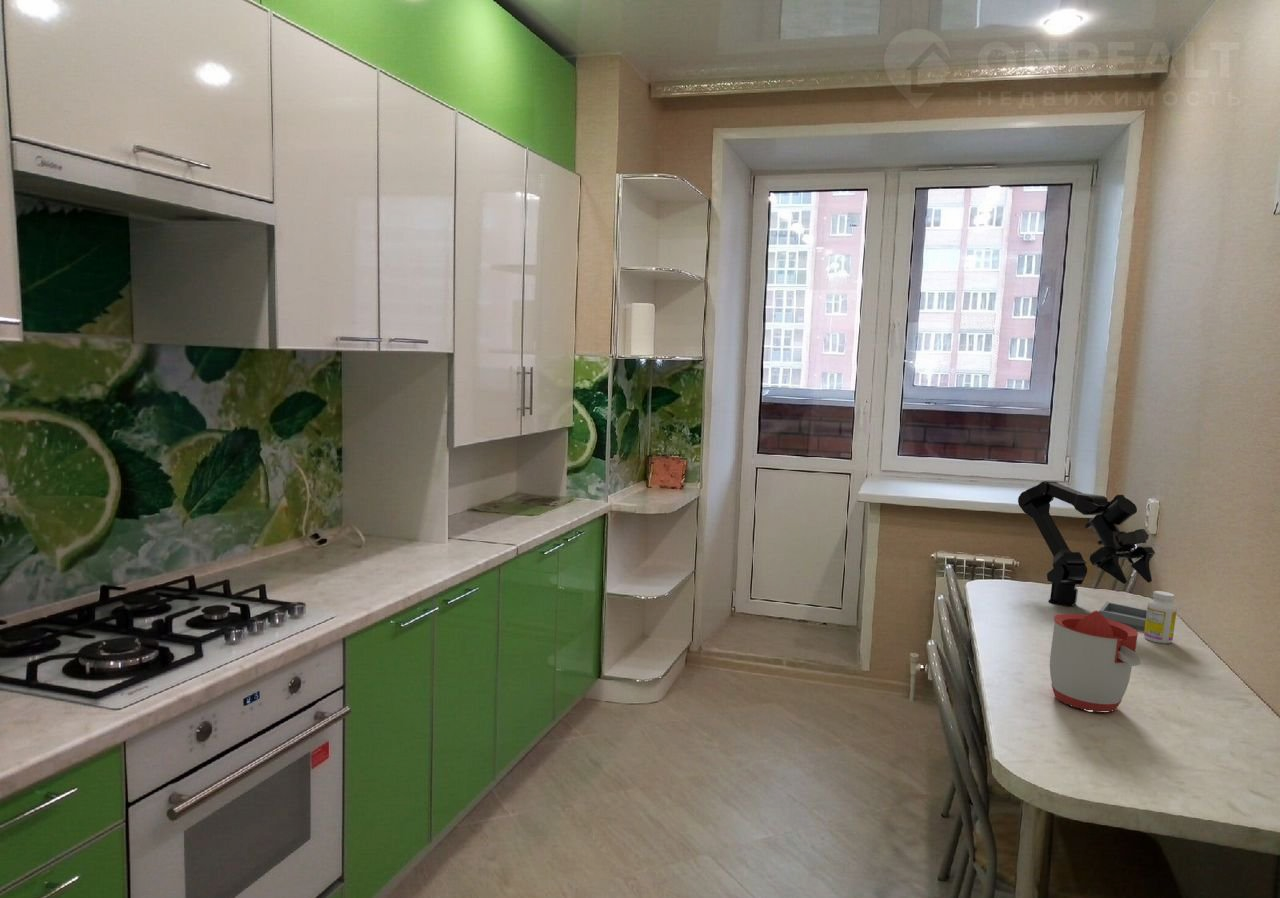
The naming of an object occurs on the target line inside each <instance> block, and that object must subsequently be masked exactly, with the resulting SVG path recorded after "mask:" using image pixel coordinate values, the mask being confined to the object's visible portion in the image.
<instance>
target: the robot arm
mask: <svg viewBox="0 0 1280 898" xmlns="http://www.w3.org/2000/svg"><path fill="white" fill-rule="evenodd" d="M1054 498H1055V499H1058V500H1059V501H1060V500H1061V501H1062V502H1065V503H1067V504H1069V505H1071V506H1073V507H1074V510H1076V511H1077V512H1079V514H1082V515H1084V516H1093V517H1092V518H1087V521H1086V523H1085V526H1084V527H1085V529H1093V530H1094V532H1095V534H1096V536H1097V537H1098V539H1099V541H1097V544H1098V546H1101V547H1099V548H1098V549H1097V550H1095V551H1094V552H1092V553H1091V554H1090V555H1089V561H1090V563H1091V565H1092V566H1096V567H1097V568H1098V569H1101V570H1102V571H1103V572H1106V573H1107V574H1109V575H1110V576H1111V577H1113V578H1115V579H1116V580H1117V581H1119V582H1120V583H1121V584H1123V585H1125V584H1127V583H1128V581H1127V577H1126V576H1125V575H1126V574H1124V572H1123V569H1122V568H1121V566H1120V563H1119V560H1120V559H1121V560H1122V559H1123V560H1124V559H1127V561H1128V562H1129V563H1130V564H1131V565H1130V566H1131V567H1132V569H1133V570H1135V572H1136V573H1137V574H1138V575H1139V576H1141V577H1142V579H1143V580H1145V581H1146V583H1148V584H1150V583H1151V582H1152V581H1153V578H1152V574H1151V569H1150V567H1151V566H1150V562H1151V559H1152V558H1153V557H1154V556H1155V554H1156V552H1155V550H1154V549H1153V547H1152V546H1148V545H1145V546H1144V545H1142V546H1141V545H1139V544H1146V543H1147V541H1148V540H1149V535H1150V534H1148V532H1147V531H1146V529H1145V528H1139V529H1135V530H1133V531H1128V532H1126V531H1121V530H1120V528H1119V527H1118V526H1121V525H1123V524H1124V523H1126V522H1127V521H1128V520H1129V519H1130V518H1132V517H1133V516H1134V515H1135V514H1137V512H1138V507H1137V506H1136V504H1135V503H1133V501H1132V500H1130V499H1128V498H1126V497H1125V495H1124V494H1116V495H1115V496H1114V497H1113V498H1112V499H1111V500H1108V497H1106V496H1105V495H1099V494H1093V493H1084V492H1081V491H1079V490H1076V489H1073V488H1072V487H1071V488H1070V487H1069V486H1065V485H1064V484H1061V483H1059V482H1057V481H1051V480H1044V481H1041V482H1039V483H1038V484H1037V485H1034V486H1032V487H1030V488H1028V489H1026V490H1025V491H1022V492H1021V493H1019V496H1018V498H1017V503H1018V505H1019V507H1020V509H1021V510H1022V511H1023V513H1024V514H1025V515H1027V516H1028V517H1030V518H1031V519H1032V520H1033V521H1034V522H1035V524H1036V527H1037V528H1038V530H1039V532H1040V534H1041V536H1042V537H1043V539H1044V542H1045V543H1046V545H1047V547H1048V548H1049V550H1050V553H1051V555H1052V556H1053V559H1052V569H1051V570H1050V571H1048V572H1047V573H1046V578H1047V581H1048V582H1050V583H1051V589H1050V596H1049V597H1050V598H1049V599H1048V603H1052V604H1053V603H1054V604H1057V605H1062V606H1066V607H1073V606H1074V605H1075V604H1077V601H1078V600H1077V599H1078V596H1079V595H1078V593H1079V589H1078V588H1077V586H1078V585H1080V586H1081V585H1082V584H1084V583H1083V582H1084V580H1085V578H1086V576H1087V574H1088V567H1087V565H1086V564H1087V562H1086V561H1085V560H1084V558H1083V556H1082V553H1080V552H1079V551H1071V549H1070V548H1069V546H1068V544H1067V542H1066V540H1065V539H1064V537H1063V535H1062V533H1061V532H1060V530H1059V528H1058V526H1057V525H1056V523H1055V521H1054V519H1053V517H1052V516H1051V513H1050V509H1051V504H1050V503H1052V502H1053V501H1054ZM1136 545H1138V546H1137V547H1136ZM1132 549H1133V550H1132Z"/></svg>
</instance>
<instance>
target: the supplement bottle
mask: <svg viewBox="0 0 1280 898" xmlns="http://www.w3.org/2000/svg"><path fill="white" fill-rule="evenodd" d="M1152 594H1153V595H1152V596H1153V599H1151V600H1149V602H1148V603H1147V607H1146V610H1147V615H1146V622H1145V630H1144V631H1143V637H1144V638H1145V639H1146V640H1148V641H1150V642H1153V643H1157V644H1165V645H1166V644H1172V643H1173V641H1174V640H1173V639H1174V633H1175V627H1176V618H1177V612H1178V608H1177V605H1176V604H1174V603H1173V602H1174V600H1175V594H1173V593H1171V592H1169V591H1161V590H1153V593H1152Z"/></svg>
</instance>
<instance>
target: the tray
mask: <svg viewBox="0 0 1280 898" xmlns="http://www.w3.org/2000/svg"><path fill="white" fill-rule="evenodd" d="M1098 611H1099V612H1100V613H1101V614H1102V615H1103V616H1104V618H1106V619H1110V620H1113V621H1117V622H1120V623H1122V624H1125V625H1127V626H1130V627H1131V628H1133V629H1135V630H1139V631H1143V632H1144V630H1145V622H1146V615H1147V609H1143V608H1139V607H1134V606H1131V605H1130V606H1129V605H1125V604H1120V603H1114V602H1109V601H1106V602H1105V603H1104V604H1103V606H1102V607H1100V609H1099V610H1098Z"/></svg>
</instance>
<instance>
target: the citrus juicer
mask: <svg viewBox="0 0 1280 898" xmlns="http://www.w3.org/2000/svg"><path fill="white" fill-rule="evenodd" d="M1053 621H1054V623H1053V631H1052V640H1051V648H1050V655H1049V672H1050V680H1051V688H1052V692H1053V696H1054V697H1055V698H1056V699H1057V700H1058V699H1059V700H1058V701H1059V702H1061V701H1062V702H1061V703H1063V702H1064V703H1063V704H1065V703H1066V704H1065V705H1067V704H1069V705H1072V706H1074V707H1073V708H1075V707H1078V708H1082V709H1086V710H1093V711H1112V710H1114V711H1116V710H1117V708H1118V707H1119V706H1120V704H1121V703H1122V700H1123V698H1124V695H1125V693H1126V691H1127V689H1128V686H1129V683H1130V680H1131V673H1132V667H1137V666H1139V665H1140V664H1141V657H1140V656H1139V655H1138V653H1136V646H1137V640H1138V636H1139V633H1138V631H1137V629H1133V628H1131V627H1130V626H1127V625H1125V624H1122V623H1120V622H1117V621H1113V620H1110V619H1106V618H1104V616H1103V615H1102V614H1101V613H1100V612H1099V610H1094V611H1093V610H1092V612H1090V613H1088V614H1083V613H1060V614H1056V615H1054V617H1053ZM1069 705H1068V706H1069ZM1072 706H1071V707H1072ZM1078 708H1077V709H1078ZM1082 709H1081V710H1082ZM1115 709H1116V710H1115ZM1112 712H1113V711H1112Z"/></svg>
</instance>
